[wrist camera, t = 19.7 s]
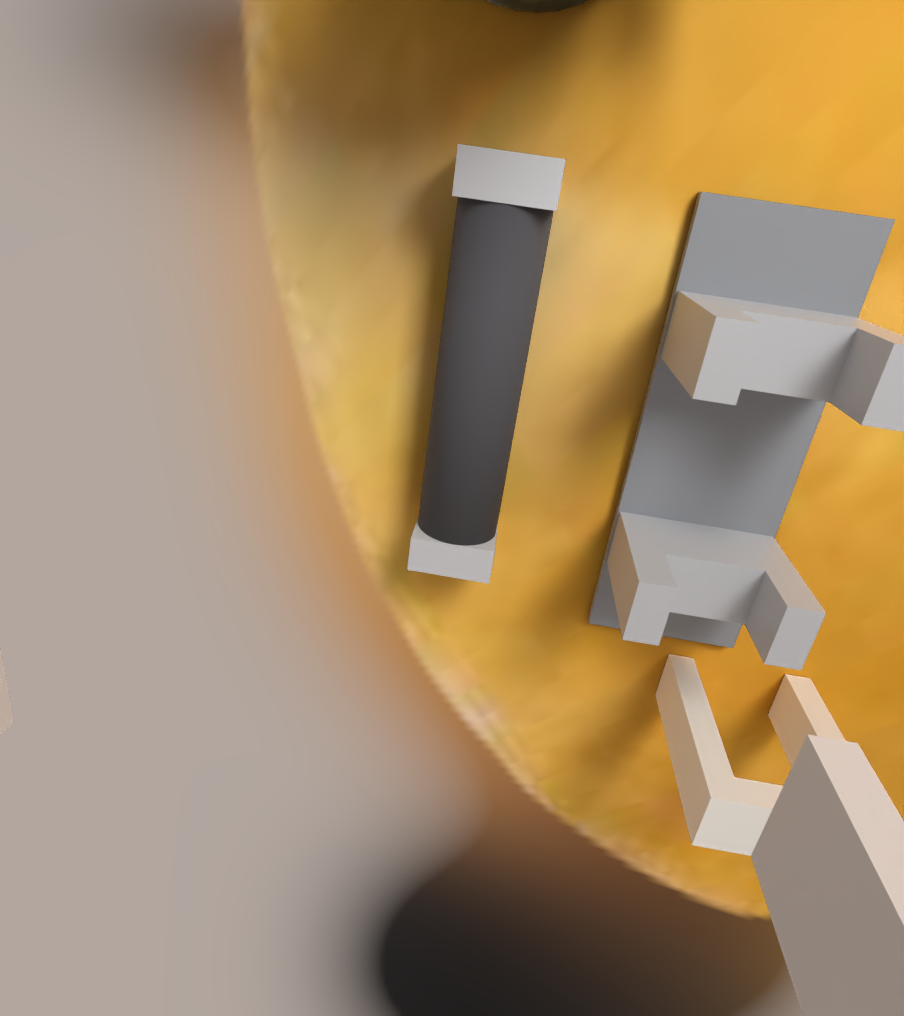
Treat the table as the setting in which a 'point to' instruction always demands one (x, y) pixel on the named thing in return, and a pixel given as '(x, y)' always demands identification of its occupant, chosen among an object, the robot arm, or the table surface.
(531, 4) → the mug
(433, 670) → the table surface
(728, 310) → the cradle
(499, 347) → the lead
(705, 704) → the u-shaped clip
